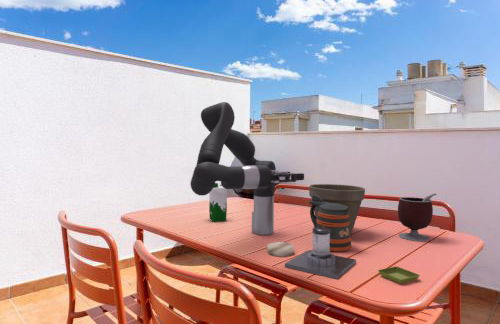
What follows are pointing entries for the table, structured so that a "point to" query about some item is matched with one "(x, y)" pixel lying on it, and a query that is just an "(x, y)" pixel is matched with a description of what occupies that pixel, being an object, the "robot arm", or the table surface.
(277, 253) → the pedestal
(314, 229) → the glass jar with lid
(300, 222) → the table surface
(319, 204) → the beer stein
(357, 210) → the plant pot
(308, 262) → the hub plate
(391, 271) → the olive green shallow tray
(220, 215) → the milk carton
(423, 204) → the mate gourd
